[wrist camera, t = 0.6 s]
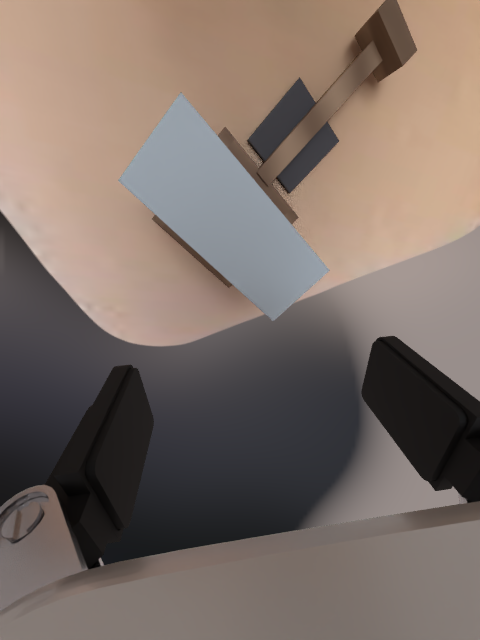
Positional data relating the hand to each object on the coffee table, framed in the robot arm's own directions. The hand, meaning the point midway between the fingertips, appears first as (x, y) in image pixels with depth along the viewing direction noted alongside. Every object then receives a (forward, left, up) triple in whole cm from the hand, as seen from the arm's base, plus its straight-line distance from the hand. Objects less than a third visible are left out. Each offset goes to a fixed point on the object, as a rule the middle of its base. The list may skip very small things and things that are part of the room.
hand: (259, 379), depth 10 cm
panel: (-15, -2, -29) cm, 32 cm away
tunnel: (-3, -2, -29) cm, 29 cm away
